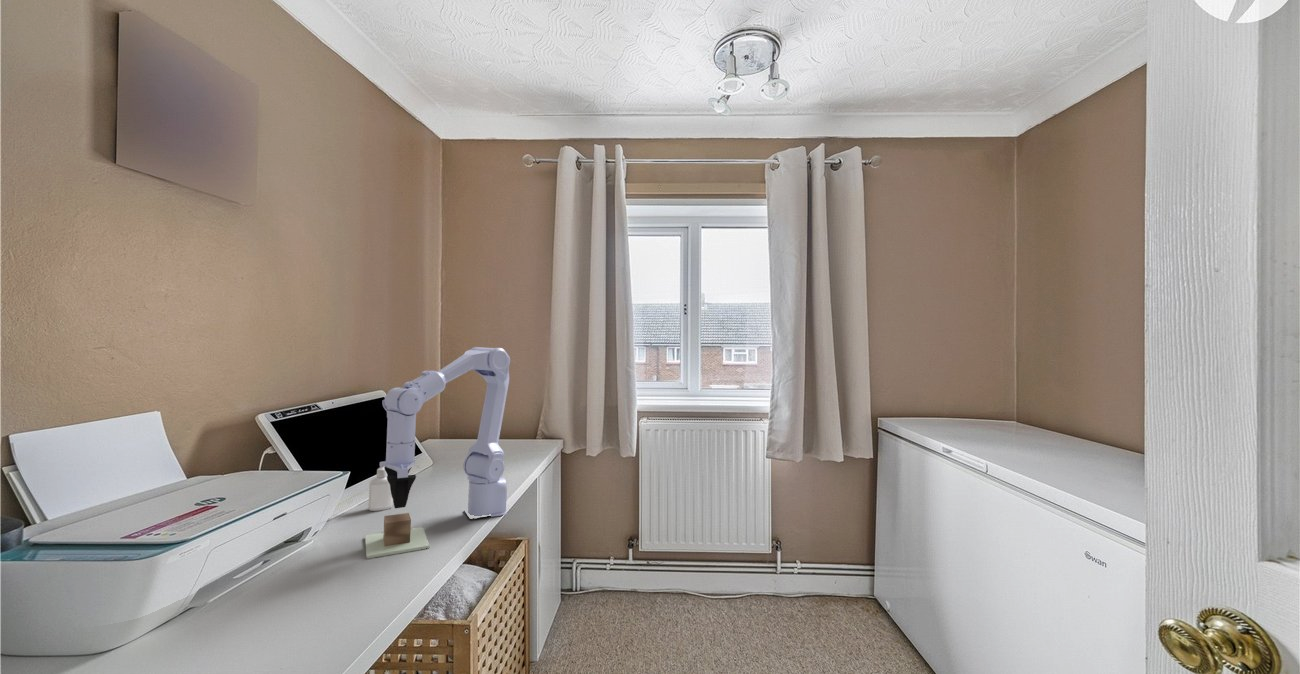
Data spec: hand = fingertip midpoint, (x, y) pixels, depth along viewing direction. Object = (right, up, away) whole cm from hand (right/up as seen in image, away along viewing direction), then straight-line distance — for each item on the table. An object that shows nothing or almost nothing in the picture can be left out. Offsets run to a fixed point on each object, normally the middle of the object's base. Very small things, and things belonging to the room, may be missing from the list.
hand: (398, 502), depth 111 cm
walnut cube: (0, -9, 0) cm, 9 cm away
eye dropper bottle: (-16, -9, +21) cm, 28 cm away
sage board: (0, -9, 0) cm, 9 cm away
